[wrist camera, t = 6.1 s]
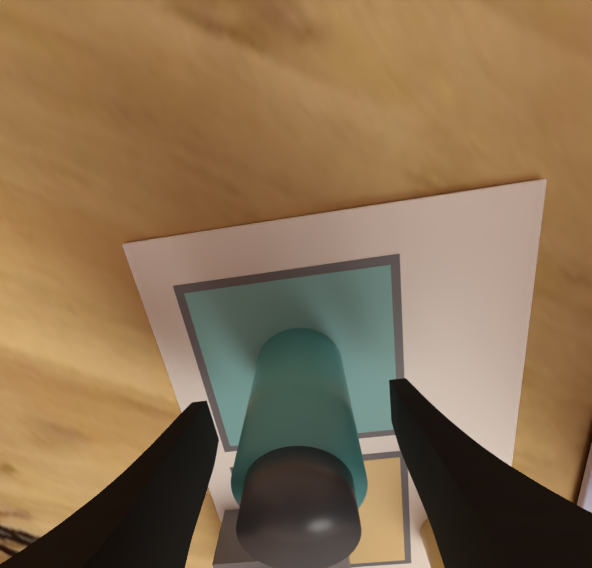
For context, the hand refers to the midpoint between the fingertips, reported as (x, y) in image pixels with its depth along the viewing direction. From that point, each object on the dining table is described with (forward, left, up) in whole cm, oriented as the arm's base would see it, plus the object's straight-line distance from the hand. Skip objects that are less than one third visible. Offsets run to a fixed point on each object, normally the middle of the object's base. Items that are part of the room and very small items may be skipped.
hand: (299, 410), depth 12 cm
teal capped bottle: (0, 0, -3) cm, 3 cm away
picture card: (-2, +5, -3) cm, 6 cm away
